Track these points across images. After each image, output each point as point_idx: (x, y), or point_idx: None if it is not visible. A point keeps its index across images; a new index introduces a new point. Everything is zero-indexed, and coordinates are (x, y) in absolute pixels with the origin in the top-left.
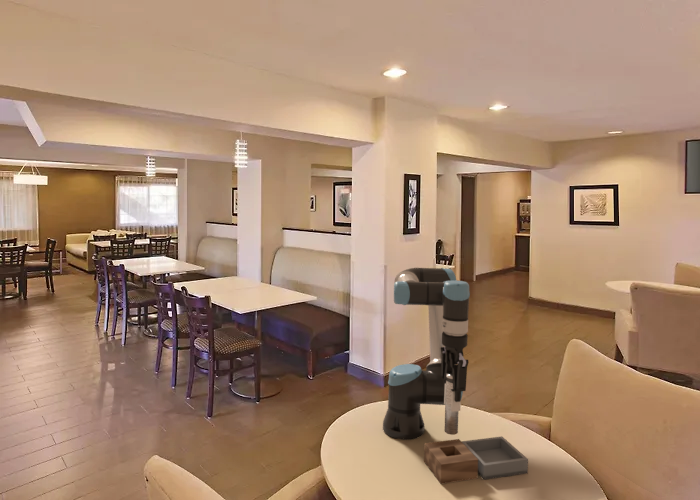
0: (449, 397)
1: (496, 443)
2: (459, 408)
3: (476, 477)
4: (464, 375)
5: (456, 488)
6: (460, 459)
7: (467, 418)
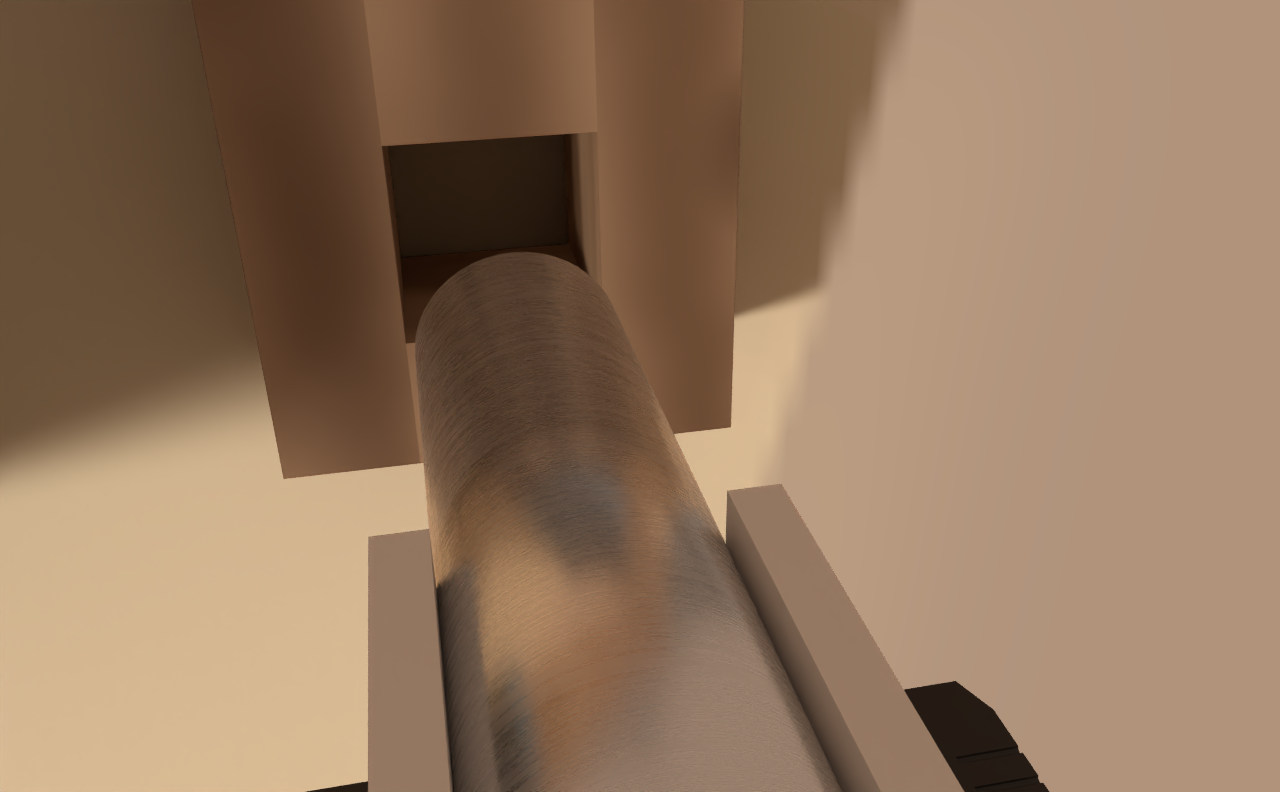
0: None
1: None
2: (798, 534)
3: None
4: None
5: (761, 216)
6: (694, 193)
7: None
